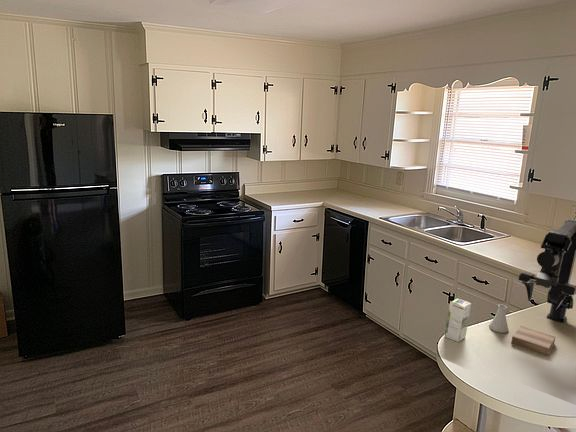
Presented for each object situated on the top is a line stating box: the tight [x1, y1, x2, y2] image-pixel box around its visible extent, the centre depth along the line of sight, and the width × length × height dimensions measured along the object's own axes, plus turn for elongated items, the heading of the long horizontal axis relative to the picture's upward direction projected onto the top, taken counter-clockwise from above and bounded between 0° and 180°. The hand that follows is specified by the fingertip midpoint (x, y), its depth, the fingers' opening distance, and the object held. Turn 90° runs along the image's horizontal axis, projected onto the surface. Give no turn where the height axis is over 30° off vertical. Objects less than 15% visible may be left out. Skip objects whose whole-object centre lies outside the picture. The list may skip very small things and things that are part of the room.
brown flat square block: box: [510, 325, 556, 357], centre depth 167 cm, size 12×12×3 cm
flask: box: [488, 304, 510, 334], centre depth 176 cm, size 7×7×10 cm
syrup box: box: [444, 298, 472, 343], centre depth 167 cm, size 6×6×14 cm
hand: (542, 304), depth 168 cm, fingers open, 9 cm apart
